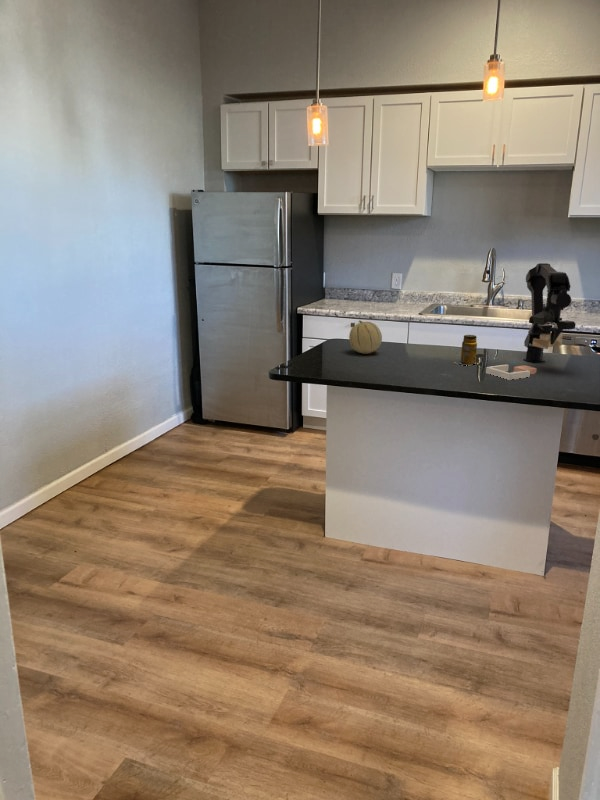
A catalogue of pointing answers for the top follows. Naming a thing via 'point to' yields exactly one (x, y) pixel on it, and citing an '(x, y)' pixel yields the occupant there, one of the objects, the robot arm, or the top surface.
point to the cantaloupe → (365, 337)
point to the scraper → (547, 341)
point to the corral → (501, 372)
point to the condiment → (468, 350)
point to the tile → (525, 369)
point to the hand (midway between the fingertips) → (549, 343)
